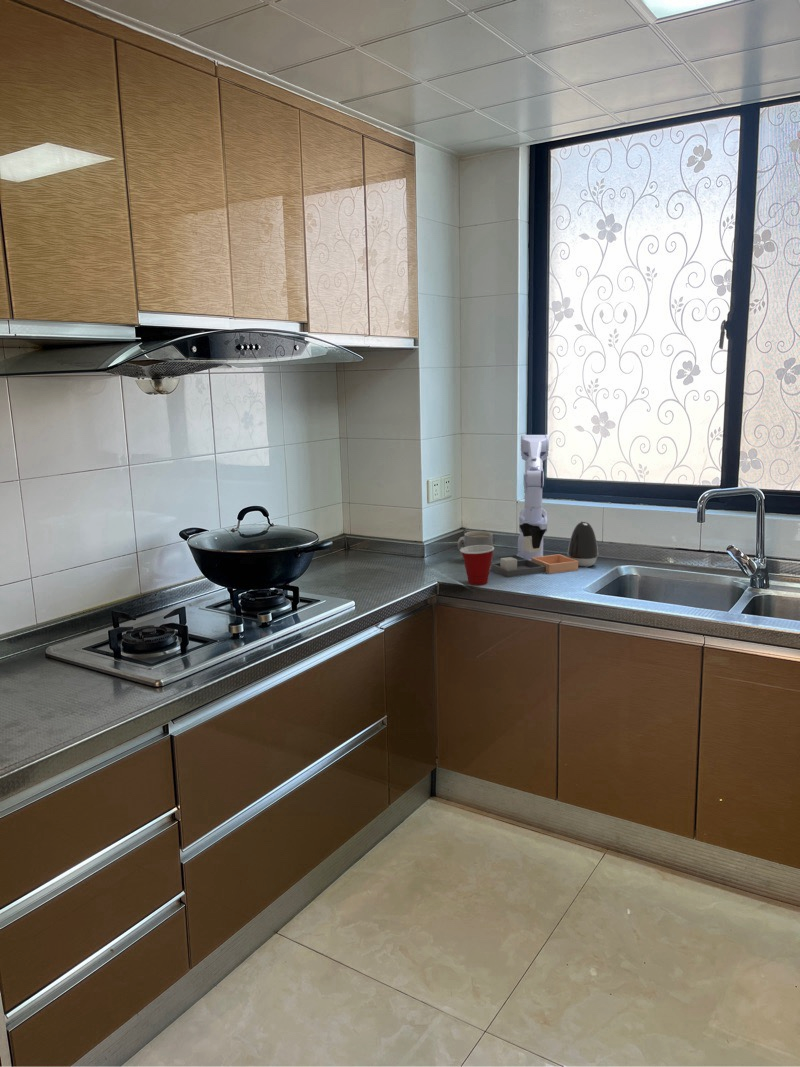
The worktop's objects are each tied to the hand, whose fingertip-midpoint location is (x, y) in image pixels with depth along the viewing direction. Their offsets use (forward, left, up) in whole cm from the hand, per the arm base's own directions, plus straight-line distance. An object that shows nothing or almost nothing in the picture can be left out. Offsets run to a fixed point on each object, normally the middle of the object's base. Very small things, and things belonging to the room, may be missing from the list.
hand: (532, 546), depth 267 cm
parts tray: (0, -5, -8) cm, 10 cm away
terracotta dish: (+2, +8, -8) cm, 11 cm away
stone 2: (0, 0, -1) cm, 1 cm away
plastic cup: (+7, -24, -9) cm, 27 cm away
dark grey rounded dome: (+1, +20, -9) cm, 21 cm away
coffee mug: (-21, -10, -9) cm, 25 cm away
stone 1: (0, -9, -8) cm, 12 cm away
